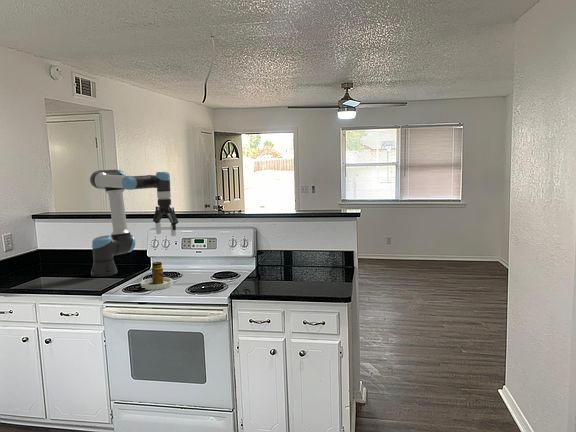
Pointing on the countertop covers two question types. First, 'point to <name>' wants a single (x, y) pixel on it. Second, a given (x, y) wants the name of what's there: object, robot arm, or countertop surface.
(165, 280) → the white plate
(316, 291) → the countertop surface
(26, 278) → the countertop surface
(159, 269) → the condiment
